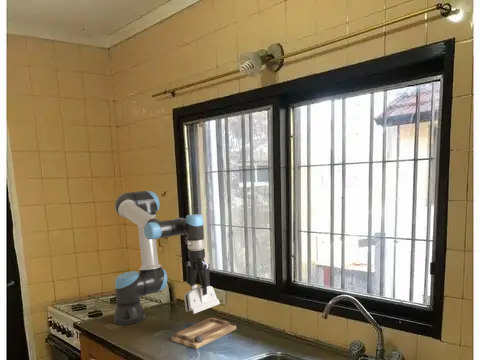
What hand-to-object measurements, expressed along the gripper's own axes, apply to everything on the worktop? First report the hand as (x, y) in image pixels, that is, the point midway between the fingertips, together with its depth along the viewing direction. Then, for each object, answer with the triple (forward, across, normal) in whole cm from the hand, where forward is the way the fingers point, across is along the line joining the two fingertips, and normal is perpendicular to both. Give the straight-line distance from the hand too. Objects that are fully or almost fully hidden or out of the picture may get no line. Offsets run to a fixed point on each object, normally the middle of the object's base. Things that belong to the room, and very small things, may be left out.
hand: (199, 300), depth 181 cm
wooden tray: (+15, +2, 0) cm, 15 cm away
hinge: (+3, +1, 0) cm, 3 cm away
